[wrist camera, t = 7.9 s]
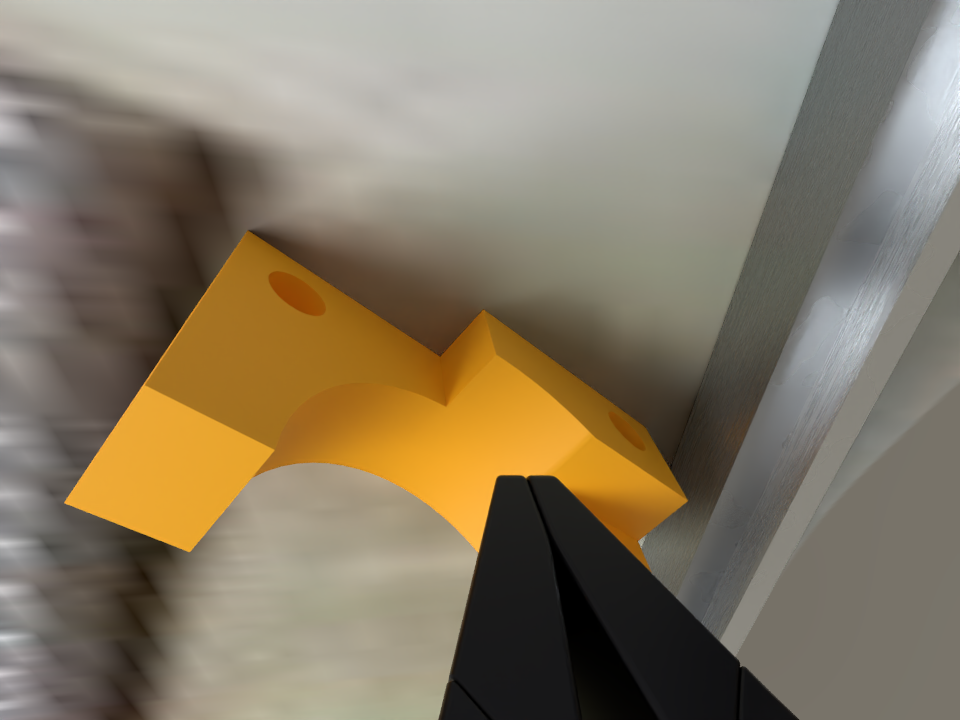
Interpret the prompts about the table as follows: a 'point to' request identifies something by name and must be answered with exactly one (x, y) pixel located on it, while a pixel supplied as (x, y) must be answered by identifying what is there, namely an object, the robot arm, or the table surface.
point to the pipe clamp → (359, 414)
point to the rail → (819, 305)
